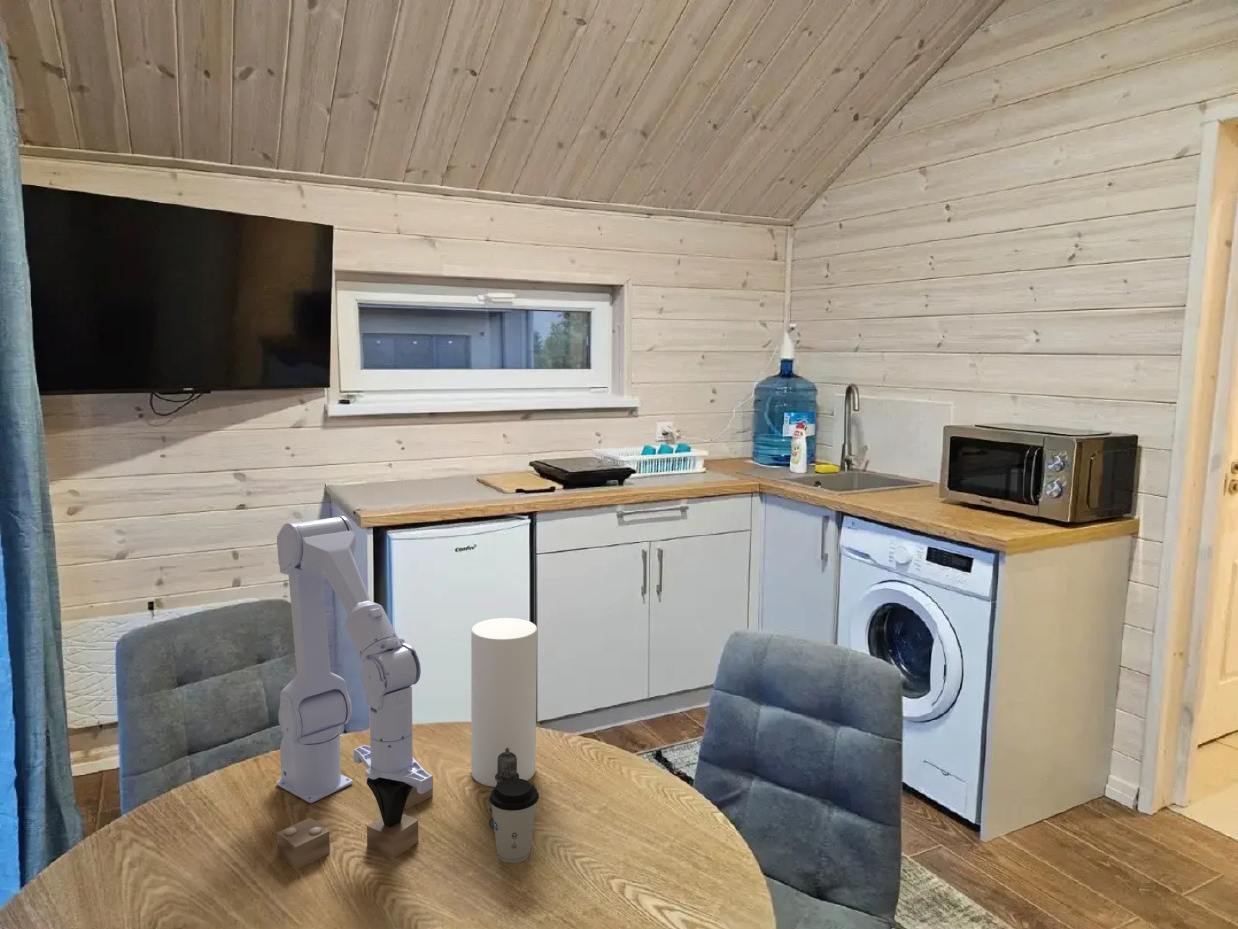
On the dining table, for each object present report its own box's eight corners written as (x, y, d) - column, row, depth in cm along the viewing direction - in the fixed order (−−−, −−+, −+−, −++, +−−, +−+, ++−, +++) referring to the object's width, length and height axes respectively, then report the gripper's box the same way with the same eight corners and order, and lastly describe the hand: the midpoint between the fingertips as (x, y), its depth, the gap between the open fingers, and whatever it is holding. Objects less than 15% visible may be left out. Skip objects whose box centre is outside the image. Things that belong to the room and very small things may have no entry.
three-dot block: (387, 798, 132) (386, 776, 131) (413, 786, 136) (412, 764, 135) (406, 810, 129) (406, 787, 128) (432, 797, 133) (432, 775, 132)
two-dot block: (277, 855, 117) (276, 831, 116) (310, 840, 120) (310, 816, 120) (296, 871, 113) (295, 845, 113) (329, 854, 117) (329, 830, 117)
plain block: (367, 848, 119) (366, 825, 118) (393, 831, 123) (392, 809, 122) (392, 860, 116) (392, 837, 116) (418, 842, 120) (418, 820, 120)
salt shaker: (519, 836, 122) (519, 759, 121) (481, 830, 123) (481, 754, 122) (531, 814, 128) (532, 740, 126) (494, 809, 129) (495, 736, 127)
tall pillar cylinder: (531, 788, 136) (533, 640, 132) (465, 786, 136) (465, 638, 132) (538, 756, 146) (540, 618, 143) (477, 754, 146) (477, 616, 143)
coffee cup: (546, 844, 120) (547, 779, 119) (525, 873, 114) (526, 804, 112) (502, 834, 123) (503, 770, 121) (479, 861, 116) (480, 794, 115)
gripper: (334, 728, 118) (337, 817, 120) (403, 759, 110) (404, 855, 112) (375, 711, 124) (377, 797, 126) (443, 739, 115) (444, 831, 117)
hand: (392, 822), depth 119 cm, fingers closed
